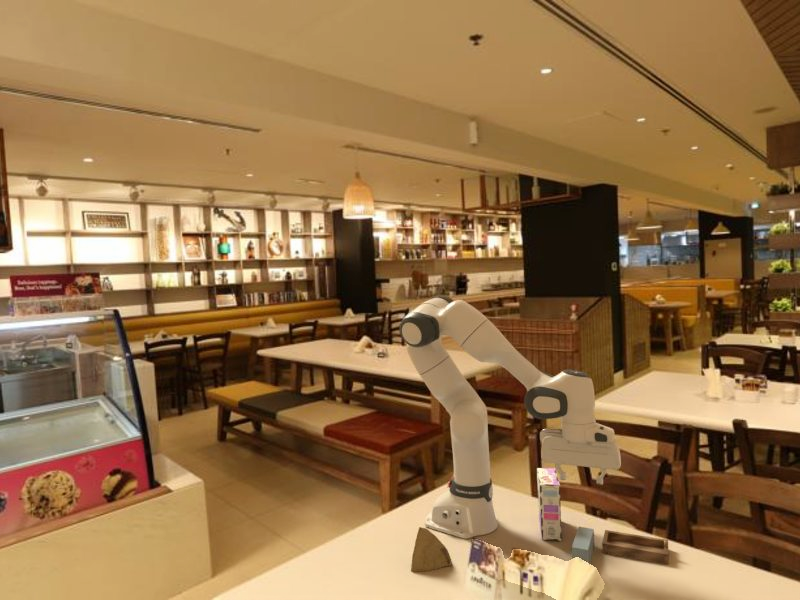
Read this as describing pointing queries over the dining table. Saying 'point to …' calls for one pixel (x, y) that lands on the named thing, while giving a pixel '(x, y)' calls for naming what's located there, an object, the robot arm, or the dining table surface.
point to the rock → (429, 552)
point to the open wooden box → (635, 546)
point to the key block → (583, 544)
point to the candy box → (549, 504)
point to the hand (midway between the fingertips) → (581, 481)
